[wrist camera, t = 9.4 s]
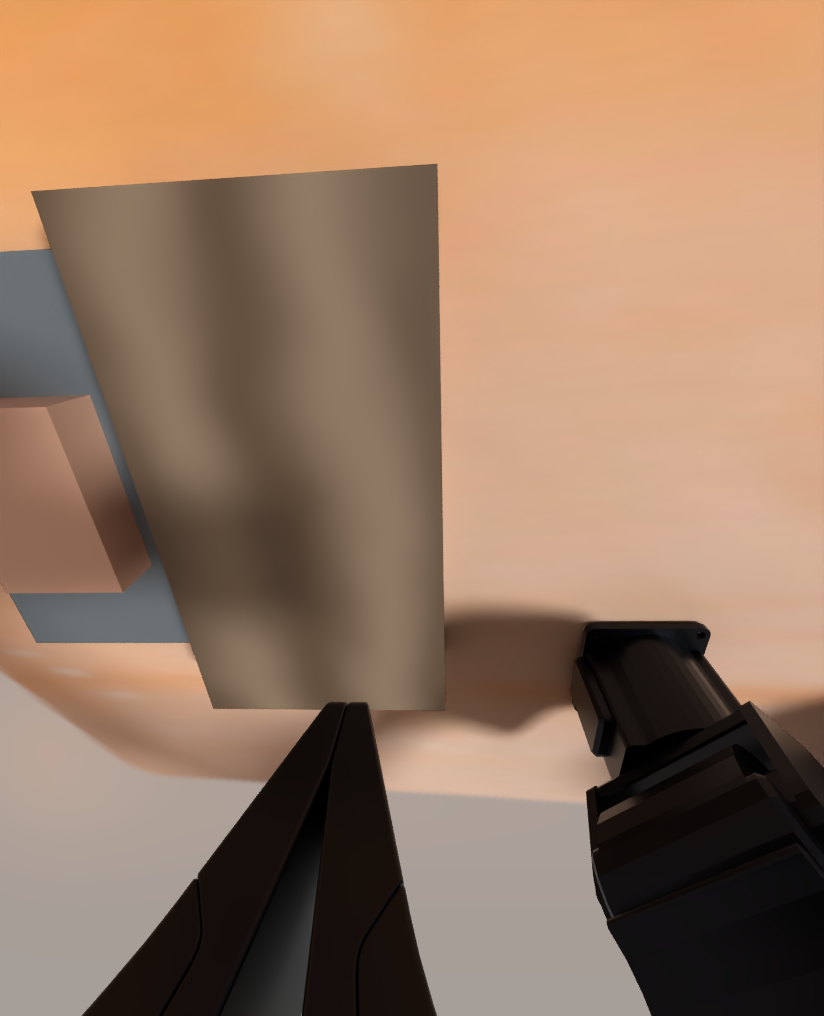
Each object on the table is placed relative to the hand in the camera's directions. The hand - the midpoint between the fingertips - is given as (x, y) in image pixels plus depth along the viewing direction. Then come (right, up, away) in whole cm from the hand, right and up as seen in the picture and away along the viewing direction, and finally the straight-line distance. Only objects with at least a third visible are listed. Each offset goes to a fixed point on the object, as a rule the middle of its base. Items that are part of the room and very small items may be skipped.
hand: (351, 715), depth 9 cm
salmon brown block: (-16, +4, +10) cm, 19 cm away
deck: (-3, +6, +12) cm, 14 cm away
